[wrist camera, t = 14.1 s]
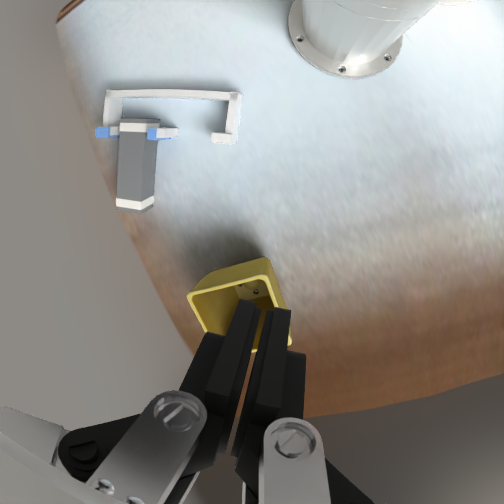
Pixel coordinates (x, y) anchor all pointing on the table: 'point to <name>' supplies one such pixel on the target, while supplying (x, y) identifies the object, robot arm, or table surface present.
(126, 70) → the table surface
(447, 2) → the candle
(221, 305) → the flower pot
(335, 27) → the robot arm
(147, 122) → the white-capped gray brick
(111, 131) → the white arch handle
